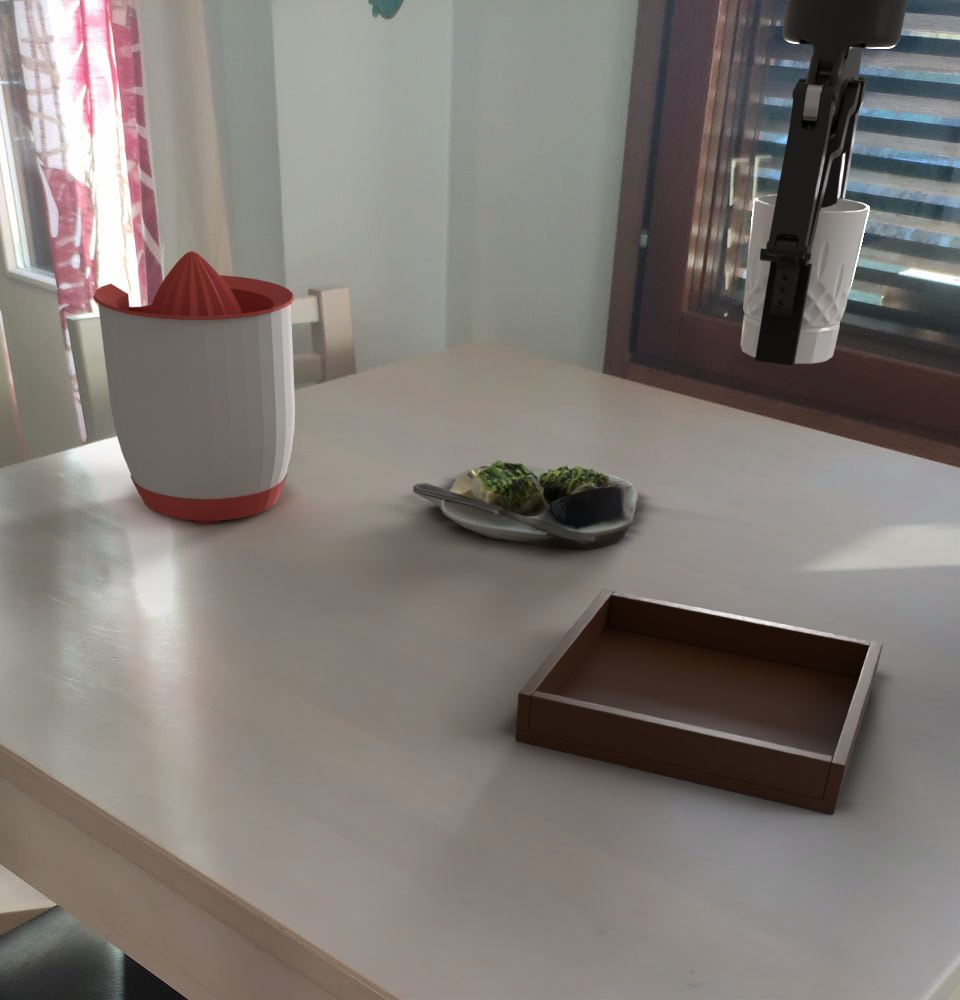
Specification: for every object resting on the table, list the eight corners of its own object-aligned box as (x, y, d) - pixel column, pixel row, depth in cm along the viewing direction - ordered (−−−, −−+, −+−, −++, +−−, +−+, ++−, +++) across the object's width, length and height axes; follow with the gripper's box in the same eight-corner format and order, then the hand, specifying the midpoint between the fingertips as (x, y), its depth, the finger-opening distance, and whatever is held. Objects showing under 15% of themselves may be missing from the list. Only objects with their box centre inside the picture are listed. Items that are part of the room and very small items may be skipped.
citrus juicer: (212, 456, 120) (194, 224, 108) (339, 503, 111) (333, 255, 99) (70, 493, 110) (34, 242, 98) (196, 549, 101) (172, 279, 89)
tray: (872, 687, 86) (883, 643, 84) (833, 815, 72) (845, 766, 71) (598, 631, 91) (603, 588, 90) (514, 740, 78) (518, 693, 76)
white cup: (751, 367, 89) (775, 210, 83) (718, 339, 96) (739, 192, 90) (856, 367, 90) (888, 212, 85) (817, 340, 97) (844, 195, 91)
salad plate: (389, 539, 104) (389, 484, 102) (438, 472, 119) (439, 422, 116) (620, 566, 102) (627, 511, 99) (642, 495, 116) (648, 444, 113)
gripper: (820, -28, 89) (765, 317, 102) (758, -35, 73) (702, 373, 86) (930, -23, 86) (858, 329, 99) (890, -29, 71) (811, 389, 84)
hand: (786, 349), depth 93 cm, fingers closed on white cup, 7 cm apart
